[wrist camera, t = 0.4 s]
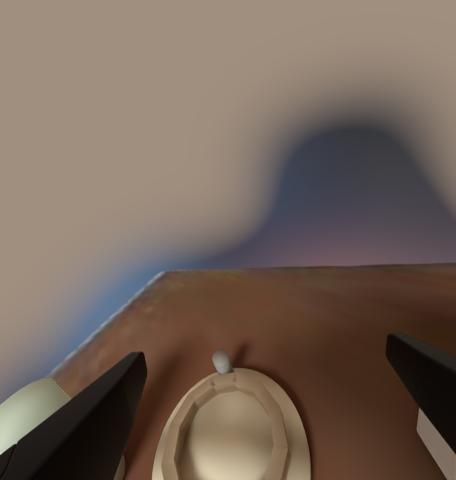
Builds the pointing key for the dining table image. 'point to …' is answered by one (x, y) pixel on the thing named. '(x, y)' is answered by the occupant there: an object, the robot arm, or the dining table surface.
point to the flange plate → (233, 431)
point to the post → (34, 413)
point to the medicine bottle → (437, 446)
